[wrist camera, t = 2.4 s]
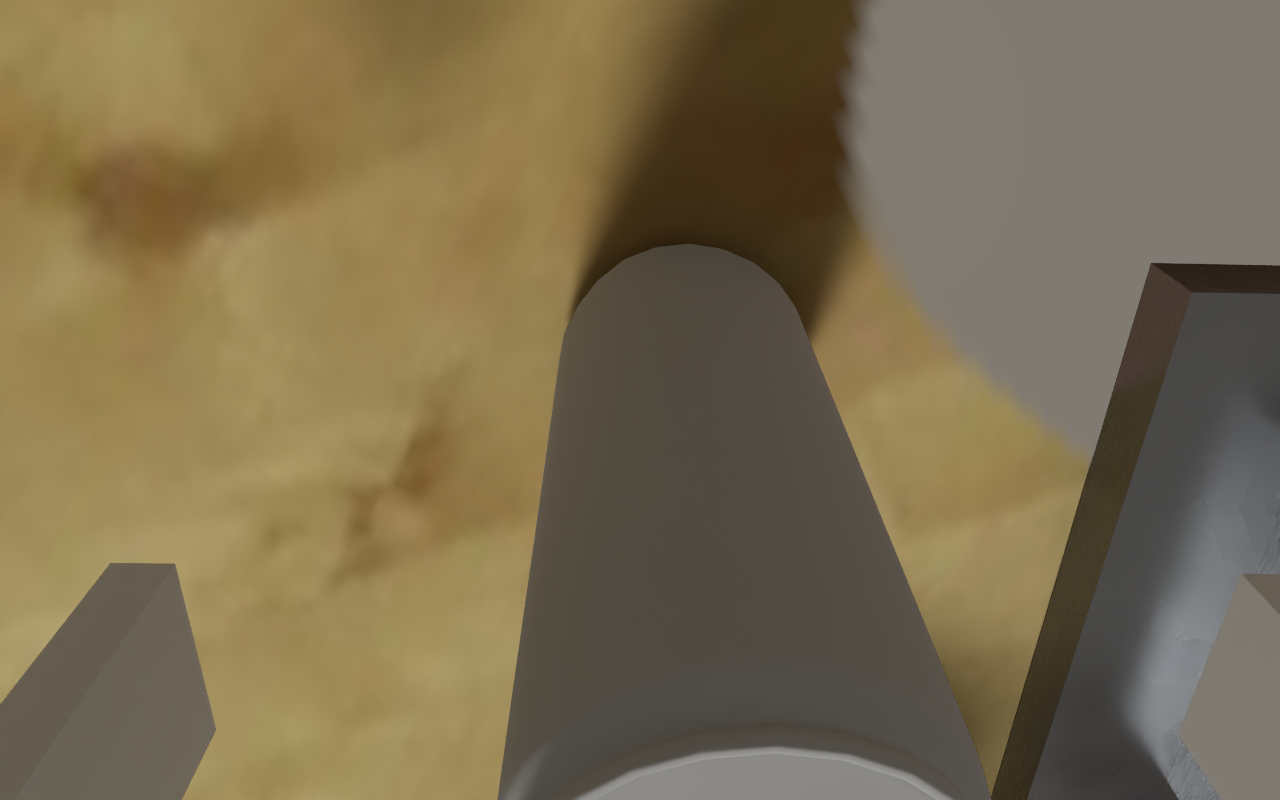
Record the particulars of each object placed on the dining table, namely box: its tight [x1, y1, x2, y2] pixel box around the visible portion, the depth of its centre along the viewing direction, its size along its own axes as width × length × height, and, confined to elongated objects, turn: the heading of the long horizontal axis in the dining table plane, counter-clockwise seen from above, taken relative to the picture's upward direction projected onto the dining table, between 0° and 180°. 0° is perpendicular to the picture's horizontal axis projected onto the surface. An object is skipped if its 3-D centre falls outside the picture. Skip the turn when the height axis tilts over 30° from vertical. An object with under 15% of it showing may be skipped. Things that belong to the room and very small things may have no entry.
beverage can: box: [498, 244, 992, 800], centre depth 14 cm, size 5×5×12 cm
